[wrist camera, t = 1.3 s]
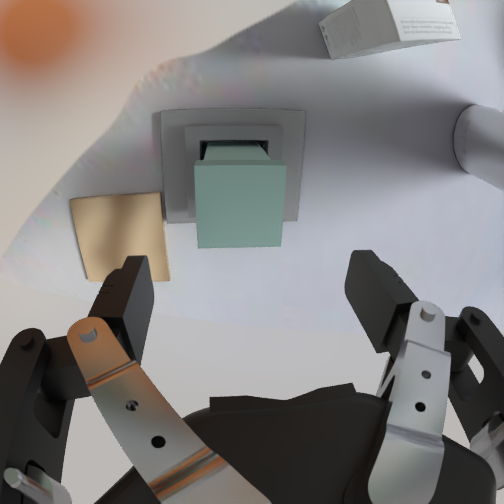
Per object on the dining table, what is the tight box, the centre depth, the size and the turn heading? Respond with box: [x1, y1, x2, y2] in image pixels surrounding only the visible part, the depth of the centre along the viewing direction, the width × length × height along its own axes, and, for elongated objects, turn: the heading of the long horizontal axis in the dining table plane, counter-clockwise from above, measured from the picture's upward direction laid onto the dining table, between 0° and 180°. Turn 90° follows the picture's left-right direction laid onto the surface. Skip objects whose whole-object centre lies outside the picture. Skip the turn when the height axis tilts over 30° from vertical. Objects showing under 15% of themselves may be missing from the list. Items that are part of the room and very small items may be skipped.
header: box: [160, 108, 306, 224], centre depth 26 cm, size 13×11×3 cm
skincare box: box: [318, 0, 461, 59], centre depth 17 cm, size 6×4×12 cm
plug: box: [194, 142, 287, 248], centre depth 23 cm, size 5×5×12 cm
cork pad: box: [70, 192, 170, 282], centre depth 30 cm, size 10×10×1 cm
